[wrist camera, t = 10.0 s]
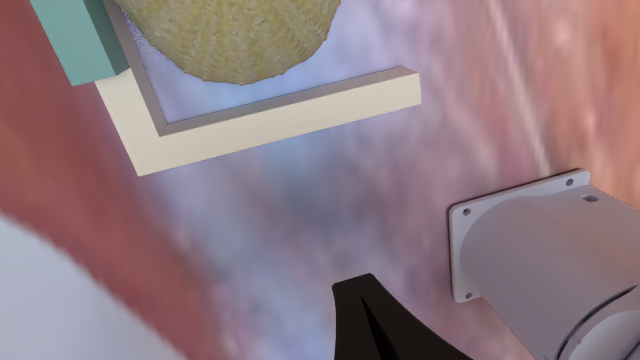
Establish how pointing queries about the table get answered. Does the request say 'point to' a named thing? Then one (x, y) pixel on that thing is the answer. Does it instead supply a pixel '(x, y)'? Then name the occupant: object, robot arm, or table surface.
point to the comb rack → (211, 129)
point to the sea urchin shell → (233, 34)
